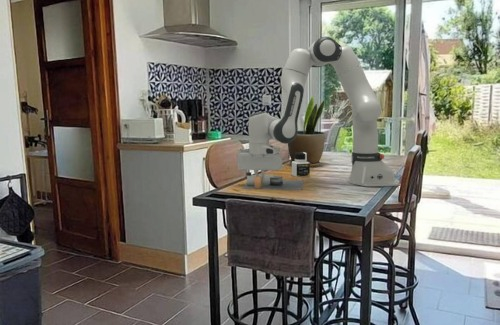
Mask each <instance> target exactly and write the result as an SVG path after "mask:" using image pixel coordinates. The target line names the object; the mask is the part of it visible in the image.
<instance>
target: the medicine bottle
mask: <svg viewBox="0 0 500 325" xmlns="http://www.w3.org/2000/svg"><path fill="white" fill-rule="evenodd" d="M291 161H292V160H291ZM306 161H307V154H306V153H305V152H297V153H295V161H292V165H291V176H293V177H296V178H307V177H308V178H309V177H311V176H310V175H311V167H310V163H309V162H306Z"/></svg>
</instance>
